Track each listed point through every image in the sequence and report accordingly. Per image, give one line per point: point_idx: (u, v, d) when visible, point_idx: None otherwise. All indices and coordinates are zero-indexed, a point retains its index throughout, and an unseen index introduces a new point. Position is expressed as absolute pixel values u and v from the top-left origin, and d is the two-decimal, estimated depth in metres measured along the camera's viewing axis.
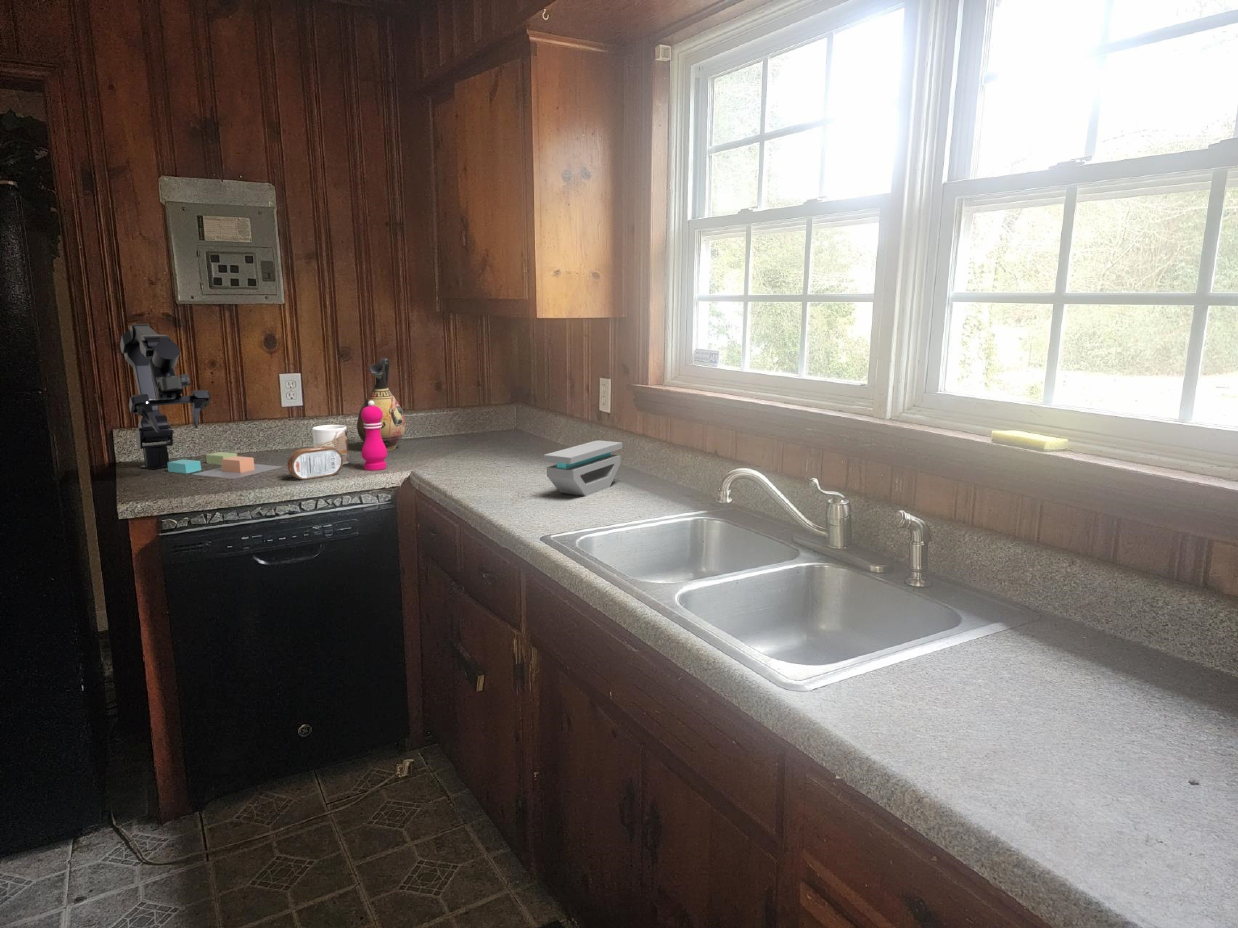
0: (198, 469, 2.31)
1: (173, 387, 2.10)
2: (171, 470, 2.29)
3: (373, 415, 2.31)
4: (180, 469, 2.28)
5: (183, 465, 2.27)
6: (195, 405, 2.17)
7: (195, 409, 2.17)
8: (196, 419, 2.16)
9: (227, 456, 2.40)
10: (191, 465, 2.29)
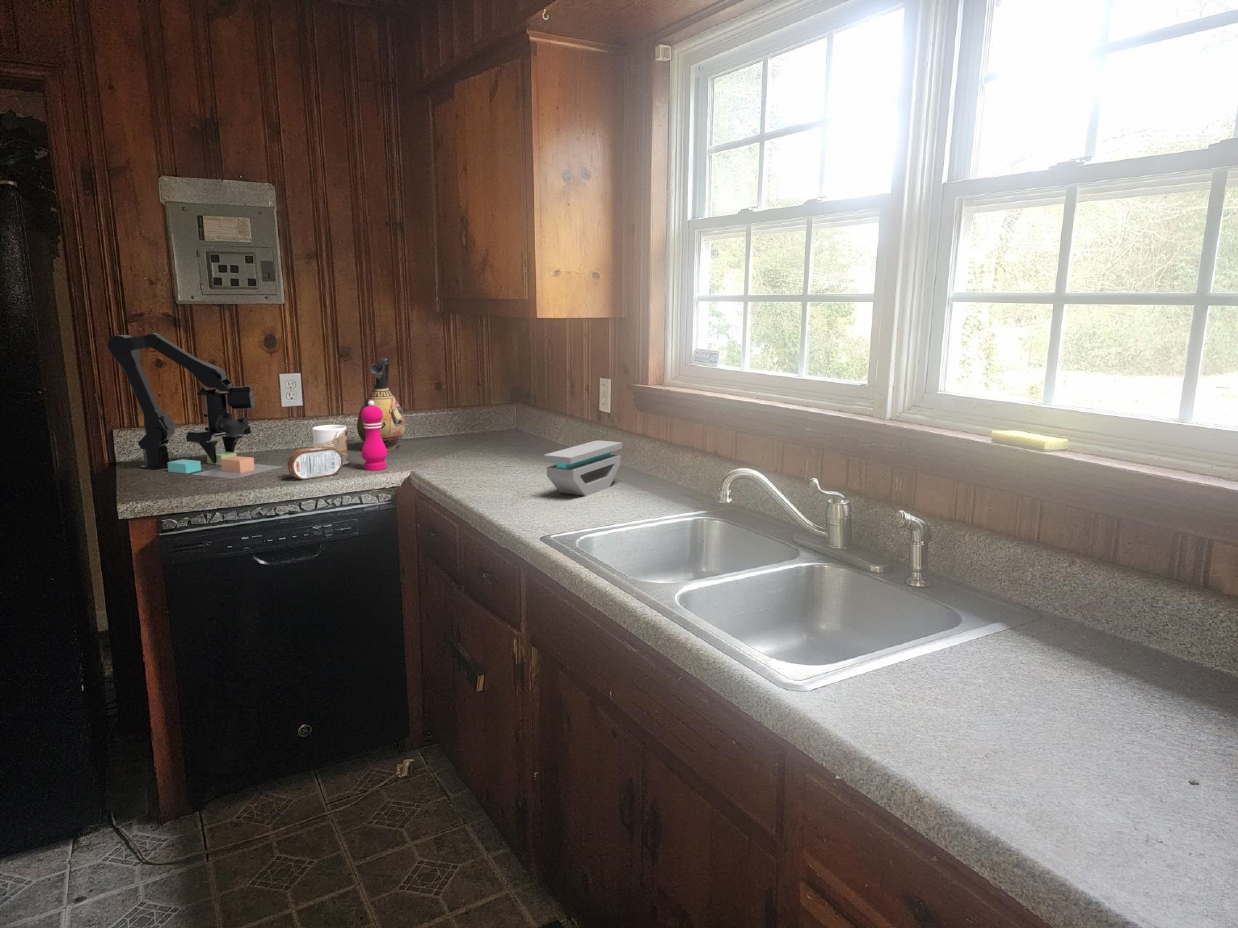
0: (198, 469, 2.31)
1: (238, 434, 2.38)
2: (171, 470, 2.29)
3: (373, 415, 2.31)
4: (180, 469, 2.28)
5: (183, 465, 2.27)
6: (234, 441, 2.44)
7: (233, 444, 2.44)
8: None
9: (226, 455, 2.40)
10: (191, 465, 2.29)
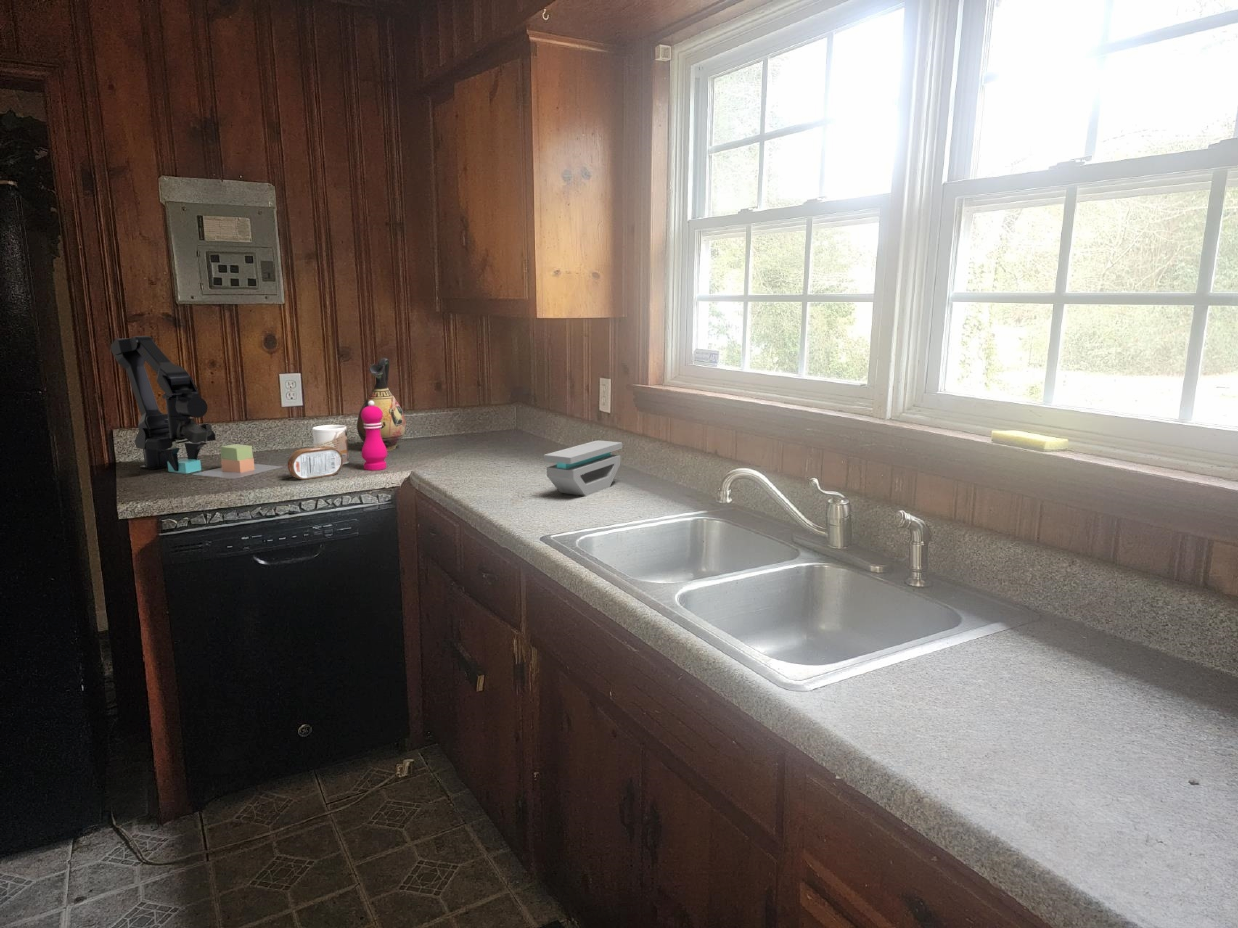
0: (198, 468, 2.31)
1: (200, 440, 2.26)
2: (171, 469, 2.29)
3: (373, 415, 2.31)
4: (180, 468, 2.28)
5: (183, 464, 2.27)
6: (197, 448, 2.32)
7: (196, 451, 2.32)
8: None
9: (241, 448, 2.28)
10: (191, 464, 2.29)
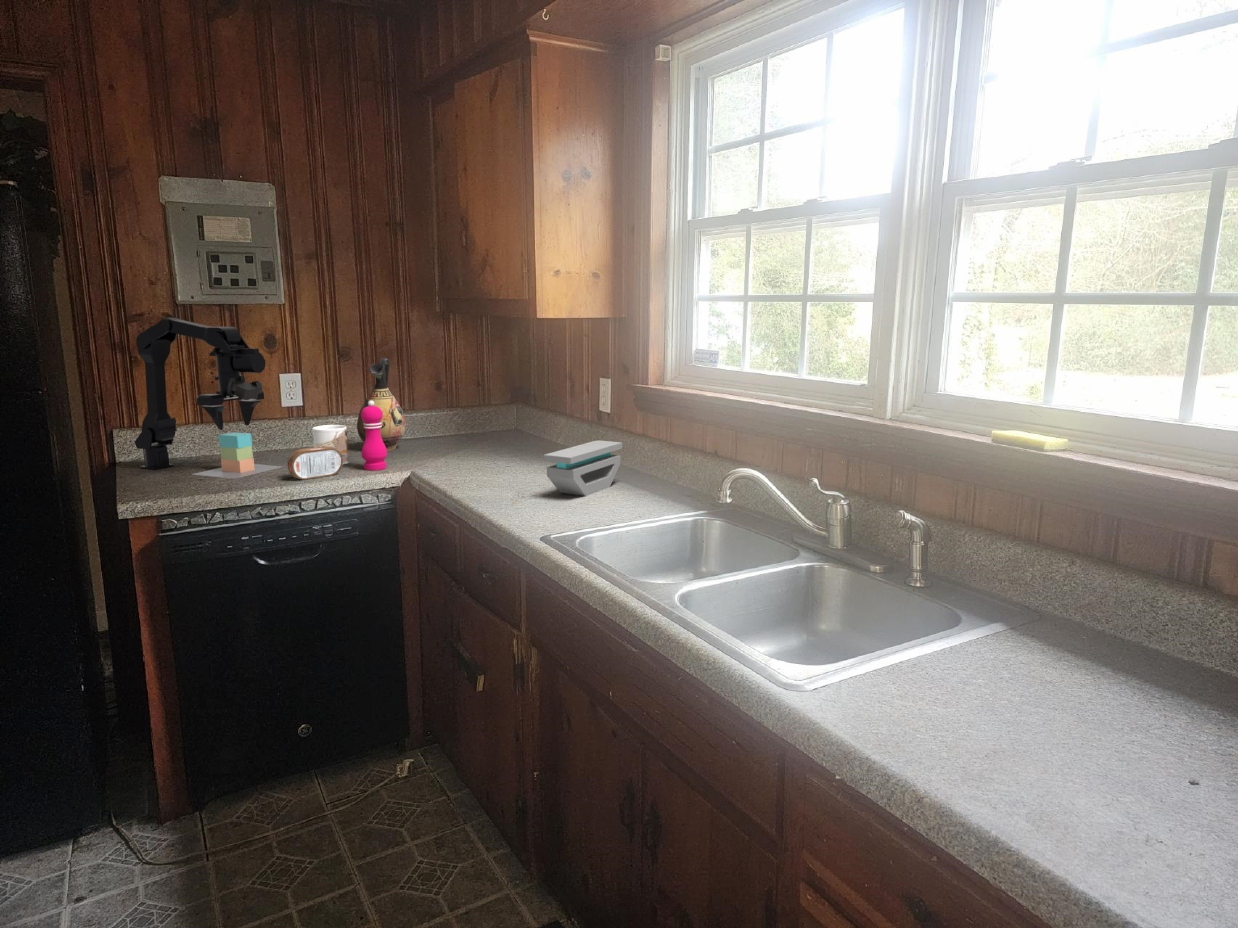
0: (249, 442, 2.30)
1: (251, 398, 2.24)
2: (222, 442, 2.28)
3: (373, 415, 2.31)
4: (232, 441, 2.27)
5: (235, 437, 2.26)
6: (252, 405, 2.32)
7: (250, 408, 2.32)
8: (249, 418, 2.33)
9: (241, 448, 2.28)
10: (243, 437, 2.28)
